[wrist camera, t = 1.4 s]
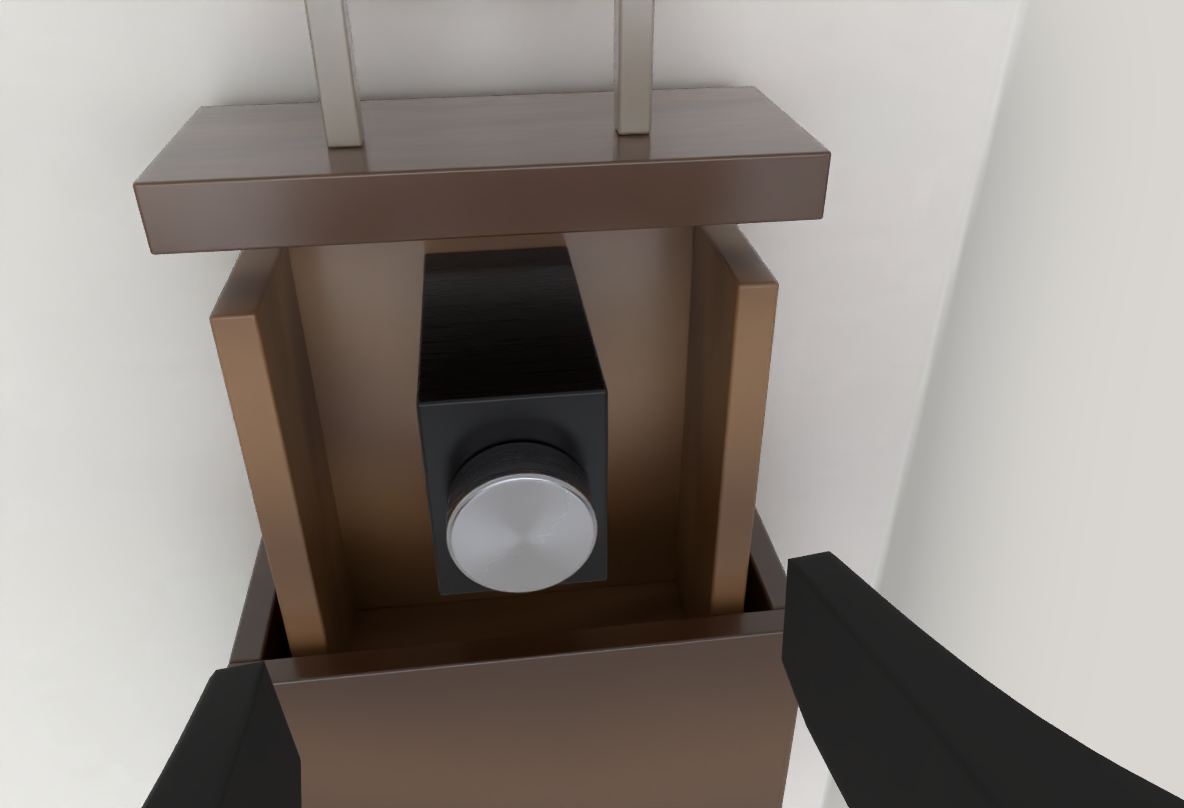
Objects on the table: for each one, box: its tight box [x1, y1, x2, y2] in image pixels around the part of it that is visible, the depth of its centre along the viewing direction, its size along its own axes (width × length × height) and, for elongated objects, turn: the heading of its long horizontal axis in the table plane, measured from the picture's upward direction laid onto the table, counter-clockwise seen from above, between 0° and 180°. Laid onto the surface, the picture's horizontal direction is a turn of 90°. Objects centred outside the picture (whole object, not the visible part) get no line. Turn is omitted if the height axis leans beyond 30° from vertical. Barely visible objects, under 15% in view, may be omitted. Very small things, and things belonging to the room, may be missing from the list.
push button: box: [416, 247, 608, 595], centre depth 18 cm, size 3×4×7 cm
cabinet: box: [227, 507, 798, 808], centre depth 26 cm, size 14×12×6 cm
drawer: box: [133, 0, 831, 657], centre depth 19 cm, size 18×11×5 cm, turn 0°
